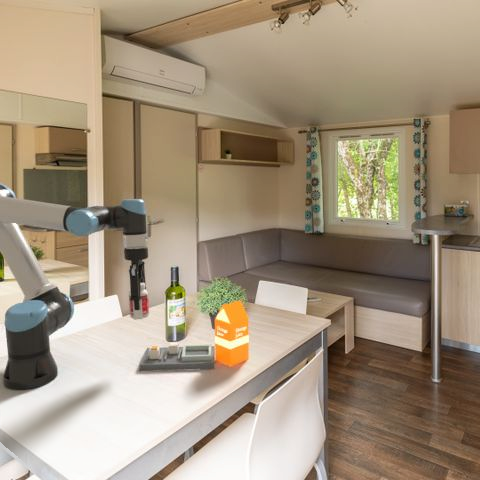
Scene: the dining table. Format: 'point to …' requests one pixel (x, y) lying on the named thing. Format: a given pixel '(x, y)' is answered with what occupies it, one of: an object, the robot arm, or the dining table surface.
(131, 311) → the pill bottle
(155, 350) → the block
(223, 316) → the orange juice
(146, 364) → the panel
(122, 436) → the dining table surface
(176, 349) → the toggle plain
